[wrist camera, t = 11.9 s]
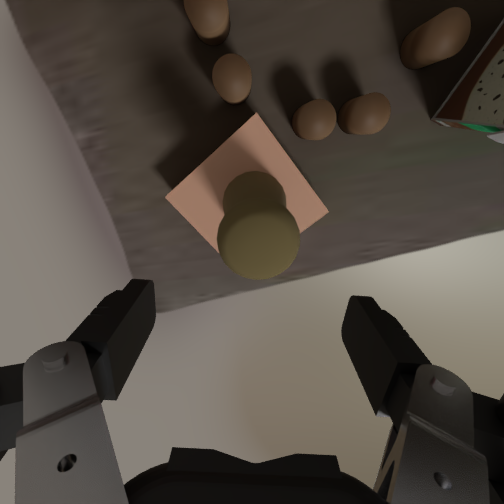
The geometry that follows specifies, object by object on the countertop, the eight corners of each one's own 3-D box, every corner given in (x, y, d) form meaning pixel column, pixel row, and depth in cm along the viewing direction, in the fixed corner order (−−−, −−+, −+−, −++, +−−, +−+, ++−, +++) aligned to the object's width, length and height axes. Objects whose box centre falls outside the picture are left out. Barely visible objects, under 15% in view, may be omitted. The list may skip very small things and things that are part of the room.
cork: (214, 221, 26) (193, 277, 16) (235, 160, 24) (226, 180, 14) (271, 242, 27) (285, 306, 17) (297, 185, 25) (331, 221, 15)
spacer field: (445, 62, 24) (482, 49, 20) (290, 187, 28) (296, 196, 24) (343, -170, 18) (367, -246, 15) (169, 28, 22) (154, 8, 19)
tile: (321, 204, 29) (328, 211, 26) (242, 264, 31) (241, 276, 29) (255, 114, 25) (256, 112, 22) (172, 190, 28) (164, 197, 25)
